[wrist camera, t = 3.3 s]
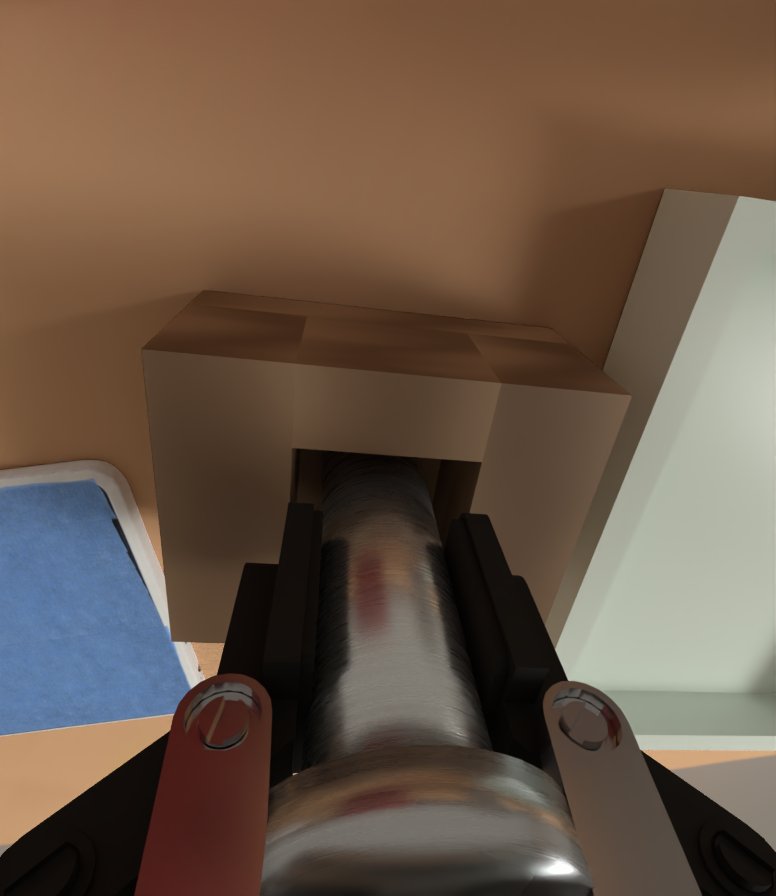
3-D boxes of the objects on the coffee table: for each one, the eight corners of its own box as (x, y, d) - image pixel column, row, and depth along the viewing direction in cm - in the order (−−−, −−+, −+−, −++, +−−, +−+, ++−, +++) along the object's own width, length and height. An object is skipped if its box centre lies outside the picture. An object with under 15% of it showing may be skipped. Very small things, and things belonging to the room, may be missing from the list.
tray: (664, 188, 14) (739, 195, 11) (1098, 252, 16) (1250, 272, 13) (495, 683, 23) (514, 749, 21) (776, 688, 25) (826, 750, 22)
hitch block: (551, 328, 15) (632, 395, 11) (492, 540, 19) (535, 652, 15) (203, 290, 14) (141, 349, 10) (213, 524, 18) (171, 641, 14)
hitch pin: (457, 396, 15) (668, 845, 5) (431, 521, 17) (545, 1006, 7) (299, 381, 14) (205, 855, 5) (292, 513, 16) (218, 1026, 7)
